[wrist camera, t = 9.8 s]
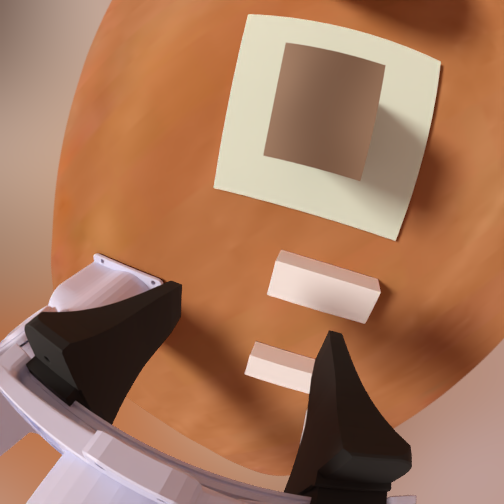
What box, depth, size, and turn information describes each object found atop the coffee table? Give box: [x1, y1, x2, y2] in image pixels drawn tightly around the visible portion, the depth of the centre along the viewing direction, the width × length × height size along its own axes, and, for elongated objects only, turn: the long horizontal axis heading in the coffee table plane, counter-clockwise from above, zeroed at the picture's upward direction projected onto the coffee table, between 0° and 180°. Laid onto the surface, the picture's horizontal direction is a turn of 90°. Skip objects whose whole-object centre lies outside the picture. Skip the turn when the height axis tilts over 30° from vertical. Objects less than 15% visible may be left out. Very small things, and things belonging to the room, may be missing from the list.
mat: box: [214, 14, 441, 241], centre depth 16 cm, size 14×14×1 cm
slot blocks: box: [245, 250, 381, 393], centre depth 23 cm, size 8×13×2 cm, turn 169°
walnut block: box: [263, 43, 386, 181], centre depth 13 cm, size 4×5×8 cm
